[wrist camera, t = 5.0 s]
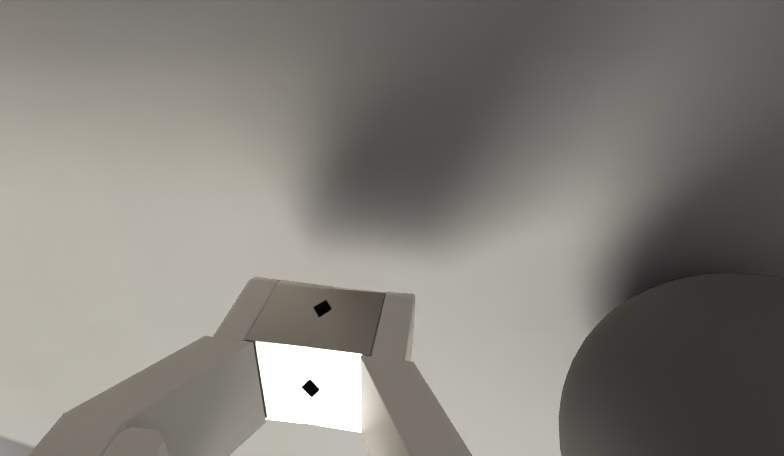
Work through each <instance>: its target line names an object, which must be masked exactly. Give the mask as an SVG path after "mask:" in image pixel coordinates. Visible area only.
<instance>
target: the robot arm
mask: <svg viewBox="0 0 784 456" xmlns="http://www.w3.org/2000/svg"><path fill="white" fill-rule="evenodd" d="M414 314H415V295H414V294H407V293H396V292H377V291H368V290H358V289H348V288H339V287H332V286H324V285H317V284H309V283H302V282H294V281H287V280H276V279H268V278H260V277H254V278H252V279H251V280H249V281H248V283H247V284H246V286H245V287H244V289H243V291H242V292H241V294H240V295H239V297H238V298H237V300H236V302H235V303H234V305H233V306H232V308H231V309H230V311H229V312H228V314H227V316H226V317H225V319H224V320H223V322H222V323H221V325H220V326H219V328H218V330H217V331H216V333H215V334H214V336H213V337H209V336H204V337H202V338H200V339H198V340H197V341H195V342H193V343H191V344H189V345H188V346H186V347H184V348H182V349H180V350H178V351H177V352H175V353H173V354H171V355H169V356H168V357H166V358H164V359H162V360H160V361H159V362H157V363H155V364H153V365H151V366H149V367H148V368H146V369H144V370H142V371H140V372H139V373H137V374H135V375H133V376H131V377H129V378H128V379H126V380H124V381H122V382H120V383H119V384H117V385H115V386H113V387H111V388H110V389H108V390H106V391H104V392H102V393H100V394H99V395H97V396H95V397H93V398H91V399H90V400H88V401H86V402H84V403H82V404H81V405H79V406H77V407H75V408H73V409H71V410H70V411H68V412H66V413H64V414H63V415H62V416H61V417H60V419H59V420H58V421H57V422H56V423H55V425H54V426H53V427H52V428H51V429H50V430H49V432H48V433H47V434H46V435H45V436H44V438H43V439H42V440H41V441H40V442H39V443H38V445H37V446H36V447H35V448H34V449H33V451H32V452H31V453H30V454H29V455H28V456H229V455H230V454H231V453H232V452H234V451H235V450H236V449H237V448H238V447H239V446H240V445H241V444H242V443H243V442H245V441H246V440H247V439H248V438H249V437H250V436H251V435H252V434H253V433H255V432H256V431H257V430H258V429H259V428H260V427H261V426H262V425H263V424H264V423H266V420H265V419H268V420H277V421H286V422H295V423H304V424H313V425H319V426H325V427H331V428H337V429H343V430H349V431H355V432H361V435H362V438H363V441H364V443H365V446H366V449H367V452H368V454H369V456H472V454H471V453H470V451H469V450H468V448H467V446H466V445H465V443H464V442H463V440H462V438H461V437H460V435H459V434H458V432H457V430H456V429H455V427H454V426H453V424H452V423H451V421H450V419H449V418H448V416H447V415H446V413H445V411H444V410H443V408H442V407H441V405H440V403H439V402H438V400H437V399H436V397H435V395H434V394H433V392H432V391H431V389H430V387H429V386H428V384H427V383H426V381H425V379H424V378H423V376H422V375H421V373H420V371H419V370H418V368H417V367H416V365H415V364H414V362H411V354H412V342H413V328H414Z"/></svg>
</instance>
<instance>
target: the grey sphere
mask: <svg viewBox="0 0 784 456" xmlns="http://www.w3.org/2000/svg"><path fill="white" fill-rule="evenodd" d="M559 437H560V450H561V455H562V456H784V279H783V278H778V277H772V276H764V275H755V274H734V273H720V274H705V275H698V276H692V277H686V278H681V279H678V280H674V281H670V282H666V283H664V284H661V285H658V286H656V287H653V288H650V289H648V290H646V291H644V292H642V293H640V294H638V295H636V296H634V297H632V298H630V299H629V300H627V301H626V302H624V303H623V304H621V305H620V306H618V307H617V308H615V309H614V310H613V311H612V312H610V313H609V314H608V315H607V316H606V317H605V318H603V320H602V321H601V322H600V323H599V324H598V325H597V326H596V327H595V328H594V329H593V330H592V332H591V333H590V334H589V335H588V336H587V337H586V339H585V340H584V342H583V344H582V345H581V347H580V349H579V350H578V352H577V354H576V356H575V357H574V359H573V361H572V363H571V366H570V369H569V371H568V374H567V377H566V380H565V383H564V386H563V391H562V396H561V402H560V411H559Z"/></svg>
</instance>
